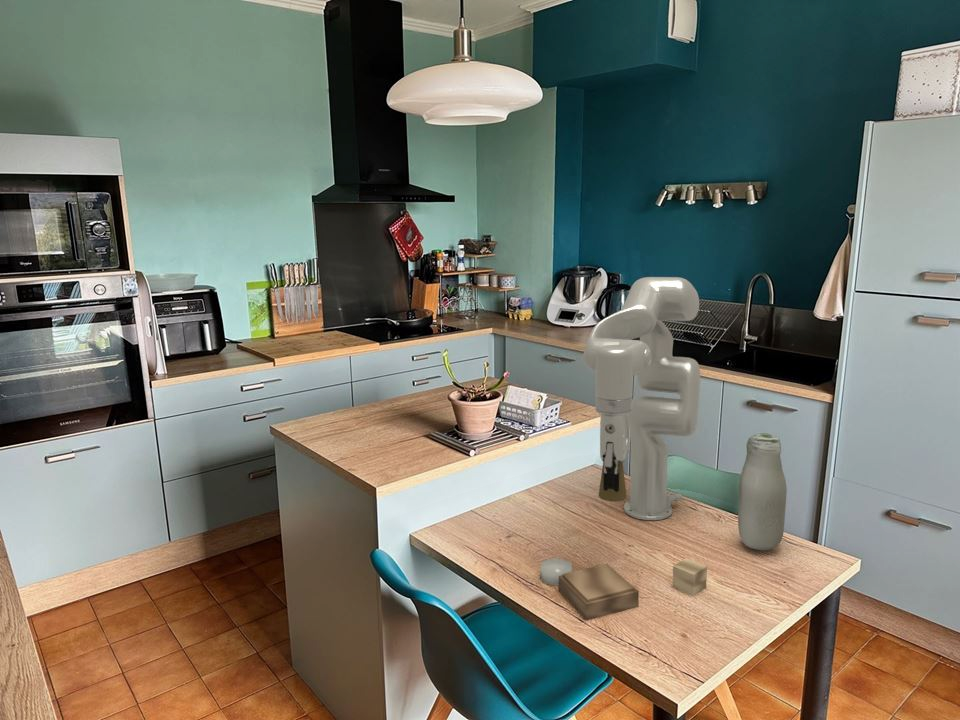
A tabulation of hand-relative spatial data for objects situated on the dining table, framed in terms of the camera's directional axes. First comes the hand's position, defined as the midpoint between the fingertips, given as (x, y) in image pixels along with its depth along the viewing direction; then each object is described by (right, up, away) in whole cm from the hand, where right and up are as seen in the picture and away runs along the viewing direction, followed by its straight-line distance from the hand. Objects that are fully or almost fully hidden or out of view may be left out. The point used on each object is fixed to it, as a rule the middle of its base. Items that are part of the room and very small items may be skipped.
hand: (612, 485), depth 148 cm
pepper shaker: (0, -2, +1) cm, 2 cm away
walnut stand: (-4, -23, -4) cm, 23 cm away
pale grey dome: (-12, -21, +5) cm, 25 cm away
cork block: (+16, -22, -1) cm, 27 cm away
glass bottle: (+38, -18, +15) cm, 44 cm away
